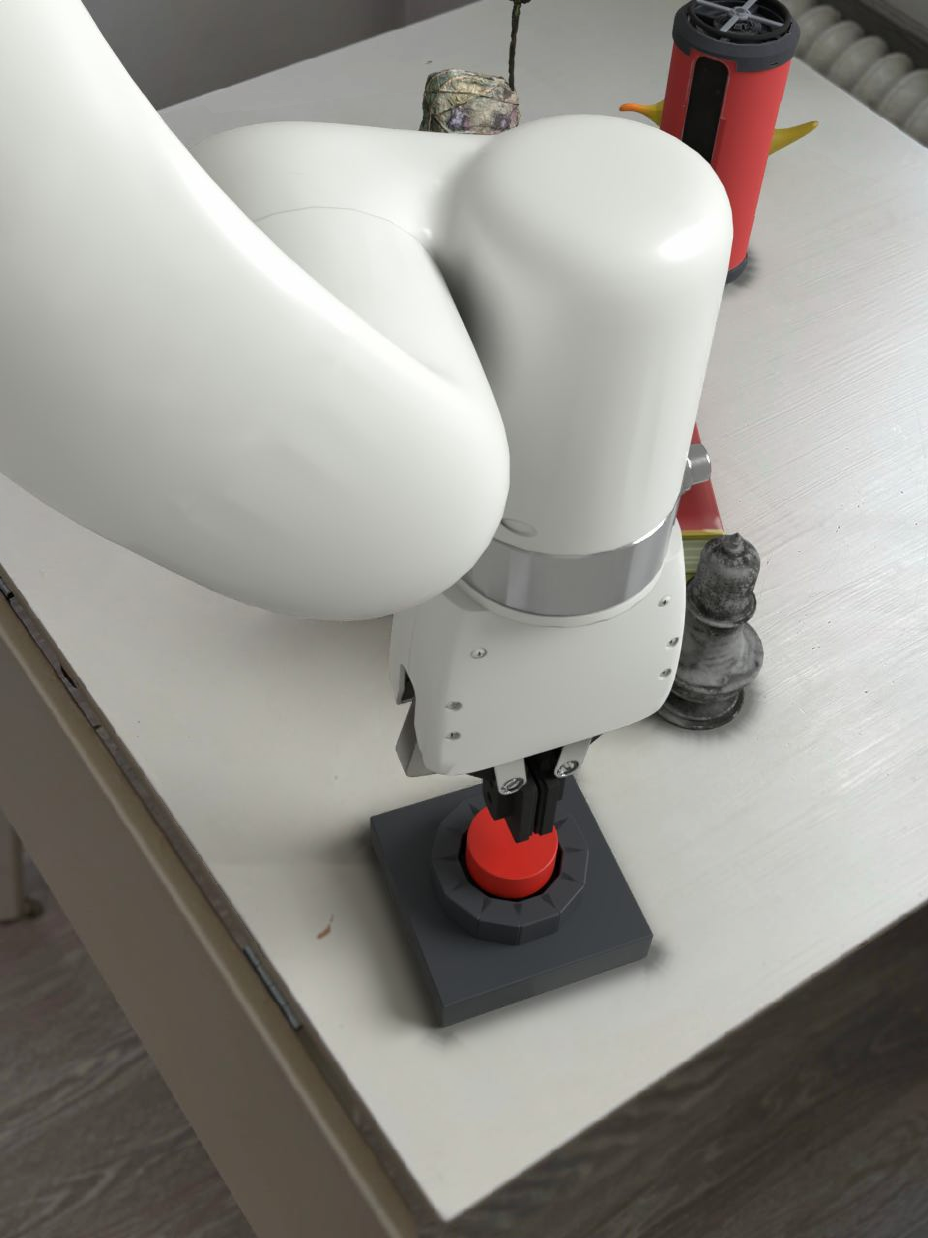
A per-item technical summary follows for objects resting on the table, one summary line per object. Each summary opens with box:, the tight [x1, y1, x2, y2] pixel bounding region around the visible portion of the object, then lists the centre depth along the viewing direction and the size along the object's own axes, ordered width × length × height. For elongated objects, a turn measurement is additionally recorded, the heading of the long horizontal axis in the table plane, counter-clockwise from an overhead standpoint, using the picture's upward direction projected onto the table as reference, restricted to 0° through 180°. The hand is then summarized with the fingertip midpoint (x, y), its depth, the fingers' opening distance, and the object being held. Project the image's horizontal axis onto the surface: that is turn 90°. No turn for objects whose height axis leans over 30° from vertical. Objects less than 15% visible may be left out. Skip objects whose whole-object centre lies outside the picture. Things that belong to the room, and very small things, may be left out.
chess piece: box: [656, 532, 765, 731], centre depth 67 cm, size 6×6×12 cm
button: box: [466, 807, 558, 898], centre depth 60 cm, size 4×4×2 cm
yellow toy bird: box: [618, 99, 819, 157], centre depth 101 cm, size 4×15×6 cm, turn 91°
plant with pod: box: [417, 0, 532, 135], centre depth 89 cm, size 8×11×20 cm
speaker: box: [659, 0, 802, 285], centre depth 89 cm, size 8×8×18 cm
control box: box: [369, 773, 654, 1028], centre depth 62 cm, size 10×10×4 cm
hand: (520, 810), depth 58 cm, fingers closed
